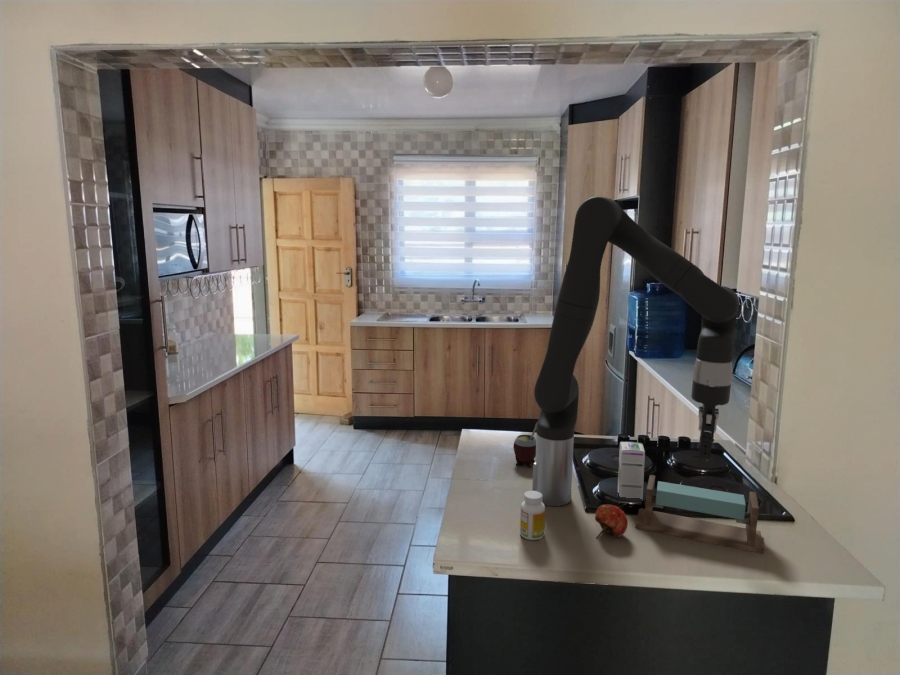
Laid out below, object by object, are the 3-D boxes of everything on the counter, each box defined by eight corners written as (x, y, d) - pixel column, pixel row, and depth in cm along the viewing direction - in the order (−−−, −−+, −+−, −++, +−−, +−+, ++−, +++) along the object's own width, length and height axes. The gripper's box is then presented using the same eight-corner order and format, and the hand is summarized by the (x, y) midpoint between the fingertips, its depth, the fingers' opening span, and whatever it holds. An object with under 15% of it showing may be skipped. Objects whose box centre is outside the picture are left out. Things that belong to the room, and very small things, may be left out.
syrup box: (642, 506, 141) (646, 451, 138) (617, 503, 142) (621, 449, 139) (639, 495, 147) (643, 442, 144) (616, 493, 148) (619, 440, 145)
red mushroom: (613, 555, 124) (644, 523, 126) (595, 533, 122) (626, 500, 124) (594, 541, 131) (624, 510, 133) (577, 520, 129) (607, 489, 131)
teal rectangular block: (655, 504, 130) (656, 490, 129) (656, 494, 134) (658, 481, 133) (743, 519, 123) (745, 505, 122) (742, 509, 127) (743, 495, 127)
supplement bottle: (546, 530, 130) (547, 491, 128) (541, 542, 125) (543, 501, 123) (522, 526, 132) (523, 487, 130) (517, 538, 127) (518, 497, 125)
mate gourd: (508, 461, 168) (509, 412, 165) (531, 456, 171) (532, 409, 168) (522, 470, 161) (523, 420, 158) (545, 466, 164) (547, 416, 162)
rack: (635, 527, 131) (638, 487, 129) (639, 511, 138) (641, 473, 136) (763, 553, 121) (768, 510, 119) (760, 535, 128) (764, 494, 126)
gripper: (693, 370, 130) (687, 437, 134) (692, 386, 118) (685, 459, 121) (730, 374, 127) (722, 442, 131) (732, 390, 115) (724, 465, 118)
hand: (704, 450), depth 126 cm, fingers open, 8 cm apart
